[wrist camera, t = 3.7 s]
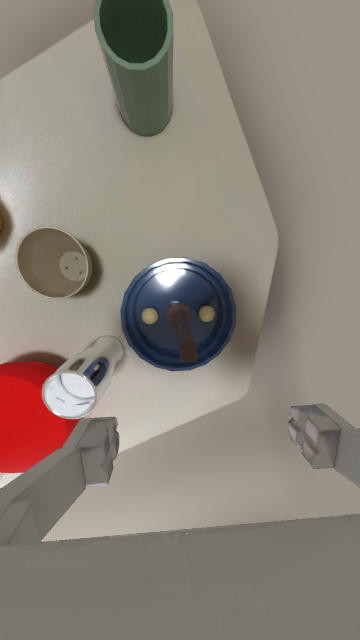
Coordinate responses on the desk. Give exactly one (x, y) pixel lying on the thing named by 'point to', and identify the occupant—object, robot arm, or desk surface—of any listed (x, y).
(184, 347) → the brown disc-ended rod
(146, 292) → the bowl
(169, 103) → the crock
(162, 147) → the desk surface
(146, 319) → the dumpling
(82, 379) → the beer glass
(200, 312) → the dumpling
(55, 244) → the flower pot
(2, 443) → the vase
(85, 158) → the desk surface
